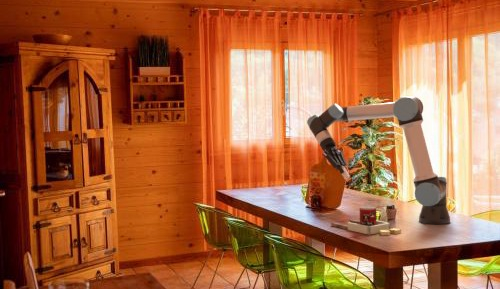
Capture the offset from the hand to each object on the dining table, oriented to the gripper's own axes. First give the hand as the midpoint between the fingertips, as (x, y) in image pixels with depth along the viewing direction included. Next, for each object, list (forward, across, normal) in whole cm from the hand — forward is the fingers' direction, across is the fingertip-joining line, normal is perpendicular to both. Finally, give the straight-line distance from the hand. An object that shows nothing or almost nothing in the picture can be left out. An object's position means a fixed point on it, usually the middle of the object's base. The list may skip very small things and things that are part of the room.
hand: (347, 178), depth 301 cm
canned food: (+28, +1, -4) cm, 28 cm away
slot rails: (+19, +1, -14) cm, 24 cm away
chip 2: (+36, -2, +6) cm, 37 cm away
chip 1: (+36, +4, +4) cm, 36 cm away
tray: (+28, +2, -4) cm, 28 cm away
